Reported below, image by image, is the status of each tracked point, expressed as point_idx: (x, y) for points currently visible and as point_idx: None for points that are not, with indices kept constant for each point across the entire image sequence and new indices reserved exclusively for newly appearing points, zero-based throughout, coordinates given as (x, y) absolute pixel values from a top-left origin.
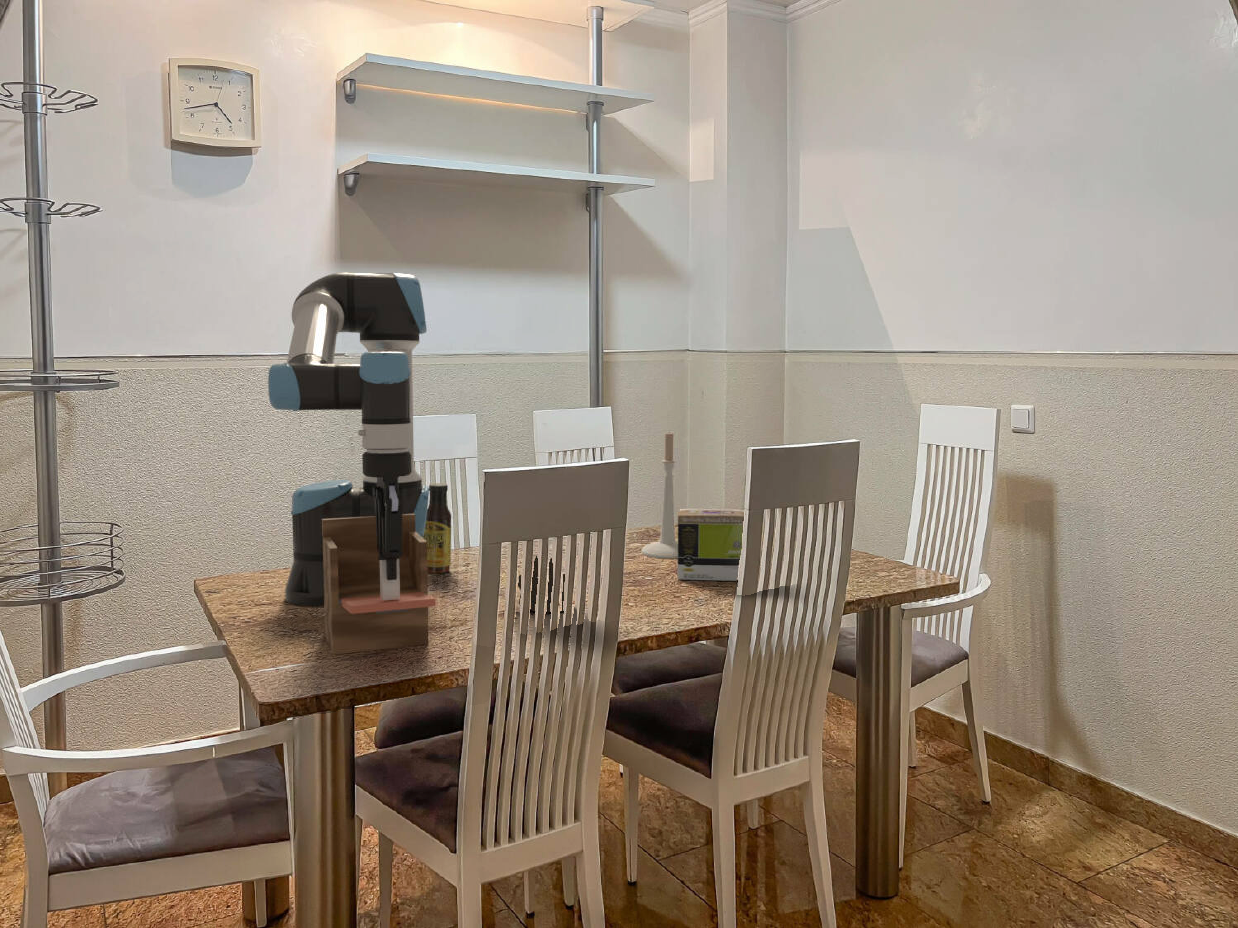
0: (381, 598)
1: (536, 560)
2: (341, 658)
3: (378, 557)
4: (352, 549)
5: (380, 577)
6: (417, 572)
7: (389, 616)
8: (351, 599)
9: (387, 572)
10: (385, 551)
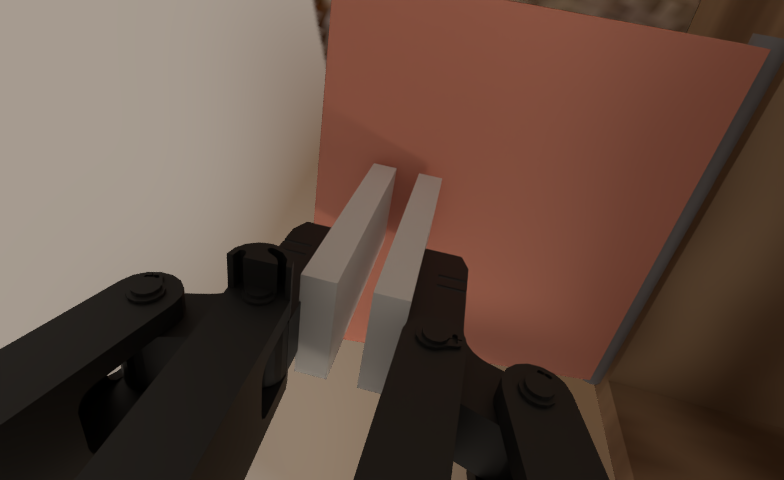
0: (528, 205)
1: None
2: (635, 9)
3: (266, 256)
4: None
5: (409, 221)
6: (695, 464)
7: None
8: (665, 83)
9: (290, 244)
10: (114, 302)
